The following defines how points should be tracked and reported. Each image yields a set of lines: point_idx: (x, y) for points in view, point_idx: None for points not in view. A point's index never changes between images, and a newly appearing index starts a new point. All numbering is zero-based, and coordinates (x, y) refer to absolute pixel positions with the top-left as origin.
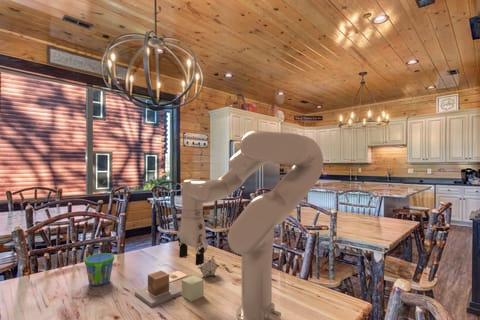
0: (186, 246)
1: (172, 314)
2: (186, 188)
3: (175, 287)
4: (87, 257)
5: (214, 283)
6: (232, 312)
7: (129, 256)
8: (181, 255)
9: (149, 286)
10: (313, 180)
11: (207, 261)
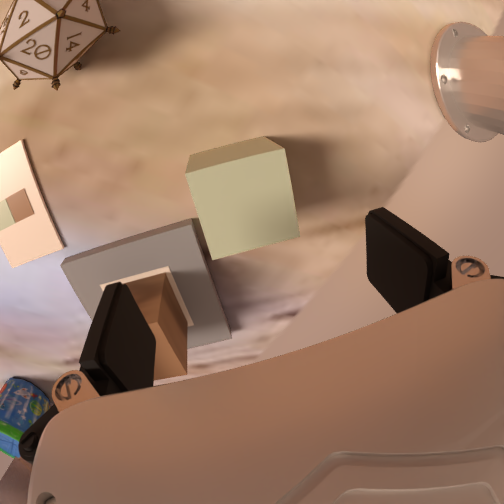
0: (113, 367)
1: (315, 286)
2: None
3: (141, 238)
4: (13, 457)
5: (171, 33)
6: (428, 117)
7: None
8: (151, 347)
9: None
10: None
11: (48, 30)
